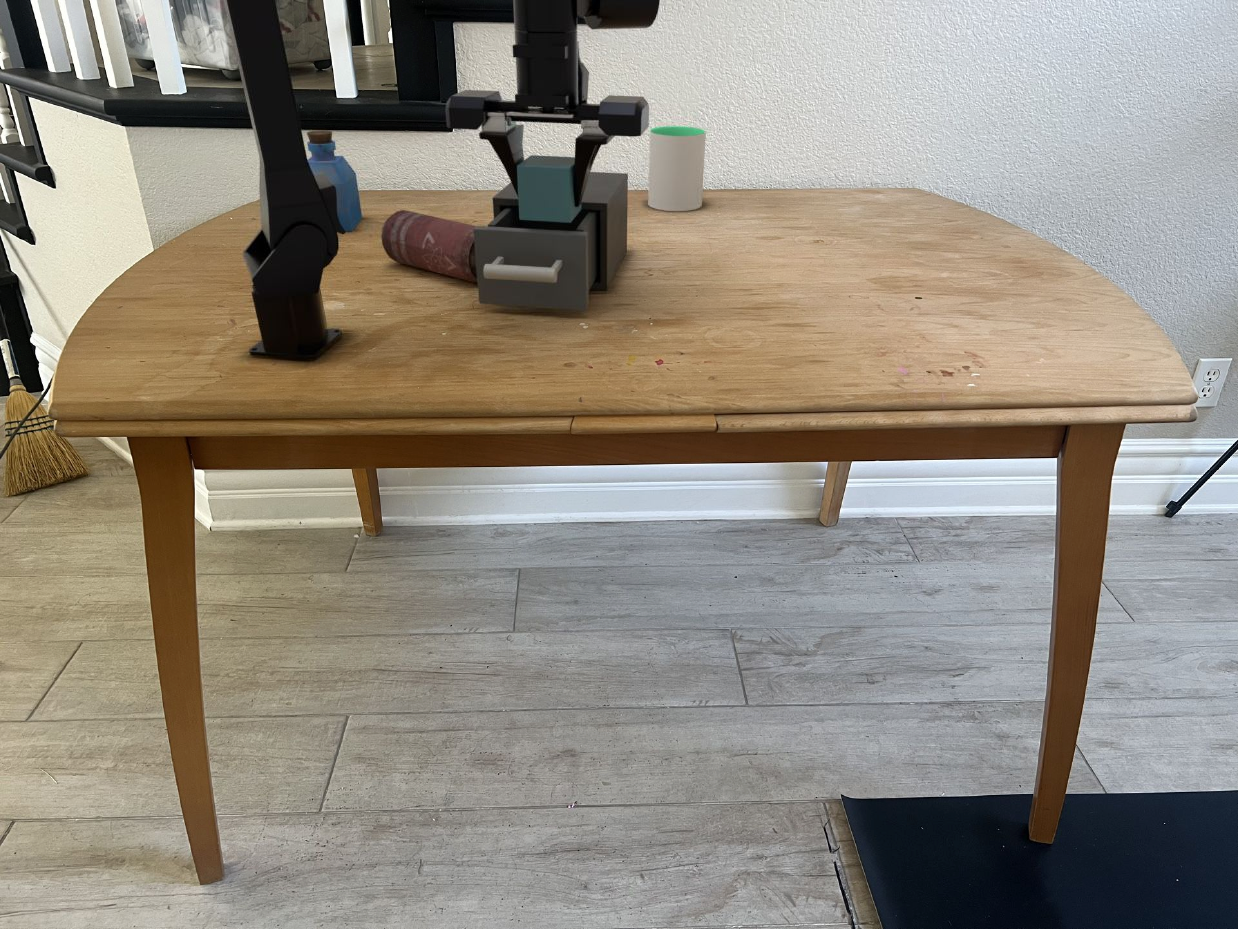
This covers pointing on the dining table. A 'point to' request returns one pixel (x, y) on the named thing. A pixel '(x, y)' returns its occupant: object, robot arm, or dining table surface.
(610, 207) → the cabinet
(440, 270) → the can
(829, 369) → the dining table surface
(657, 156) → the mug
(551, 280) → the drawer
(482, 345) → the dining table surface
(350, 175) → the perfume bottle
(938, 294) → the dining table surface
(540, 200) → the block
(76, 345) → the dining table surface
